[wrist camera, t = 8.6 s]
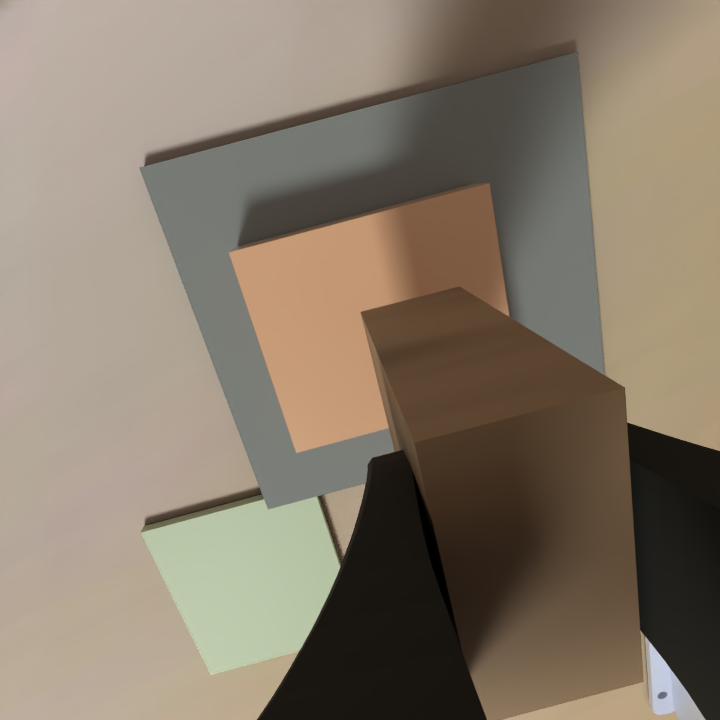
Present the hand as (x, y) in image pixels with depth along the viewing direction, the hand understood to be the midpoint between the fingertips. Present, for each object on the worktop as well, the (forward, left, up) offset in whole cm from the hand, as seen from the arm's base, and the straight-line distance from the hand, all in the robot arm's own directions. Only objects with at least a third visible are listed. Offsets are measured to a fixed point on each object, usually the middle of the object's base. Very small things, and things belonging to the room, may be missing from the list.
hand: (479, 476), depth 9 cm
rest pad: (-9, +8, -9) cm, 15 cm away
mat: (+1, 0, -9) cm, 9 cm away
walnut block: (0, 0, -4) cm, 4 cm away
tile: (+1, -3, -8) cm, 9 cm away
